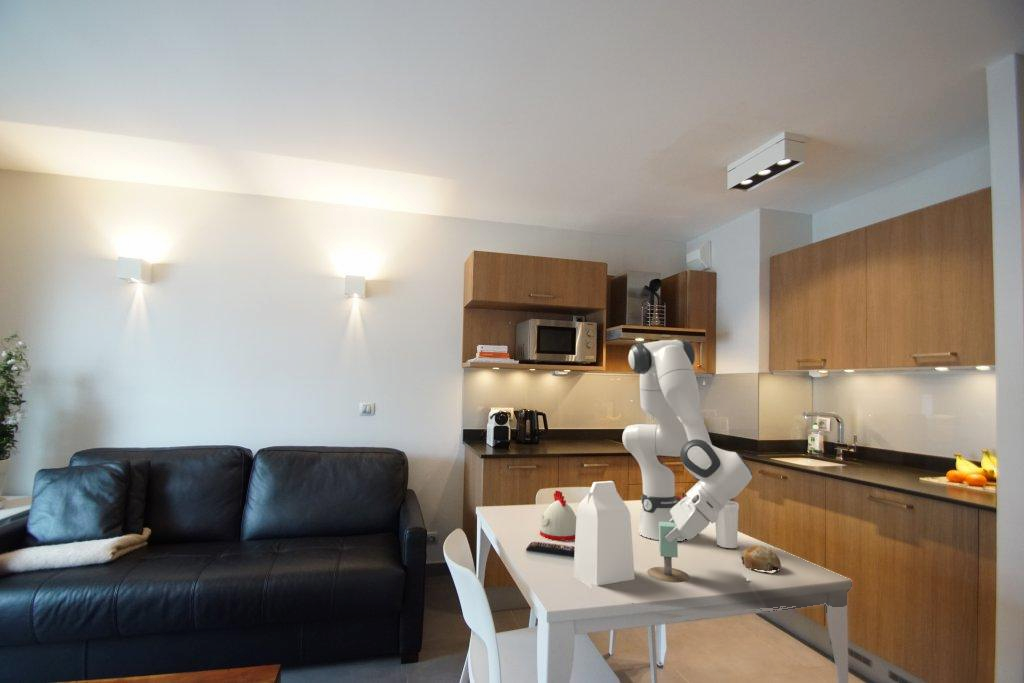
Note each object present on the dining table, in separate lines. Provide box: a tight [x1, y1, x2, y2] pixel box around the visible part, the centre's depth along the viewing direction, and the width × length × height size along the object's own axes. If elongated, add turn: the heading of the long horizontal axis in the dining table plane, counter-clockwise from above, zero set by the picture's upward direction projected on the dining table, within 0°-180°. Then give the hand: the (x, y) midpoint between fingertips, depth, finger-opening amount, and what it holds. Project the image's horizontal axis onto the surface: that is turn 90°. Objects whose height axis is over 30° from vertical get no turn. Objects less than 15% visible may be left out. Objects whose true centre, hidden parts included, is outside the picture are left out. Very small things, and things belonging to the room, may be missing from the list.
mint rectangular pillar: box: [658, 522, 679, 558], centre depth 133 cm, size 4×4×8 cm
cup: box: [714, 500, 740, 549], centre depth 162 cm, size 8×8×14 cm
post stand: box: [646, 557, 690, 584], centre depth 132 cm, size 11×11×7 cm
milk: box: [573, 480, 636, 589], centre depth 132 cm, size 12×12×26 cm
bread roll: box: [740, 545, 782, 571], centre depth 143 cm, size 10×10×8 cm
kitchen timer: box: [539, 490, 577, 542], centre depth 172 cm, size 14×14×15 cm
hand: (665, 536), depth 133 cm, fingers closed on mint rectangular pillar, 4 cm apart
